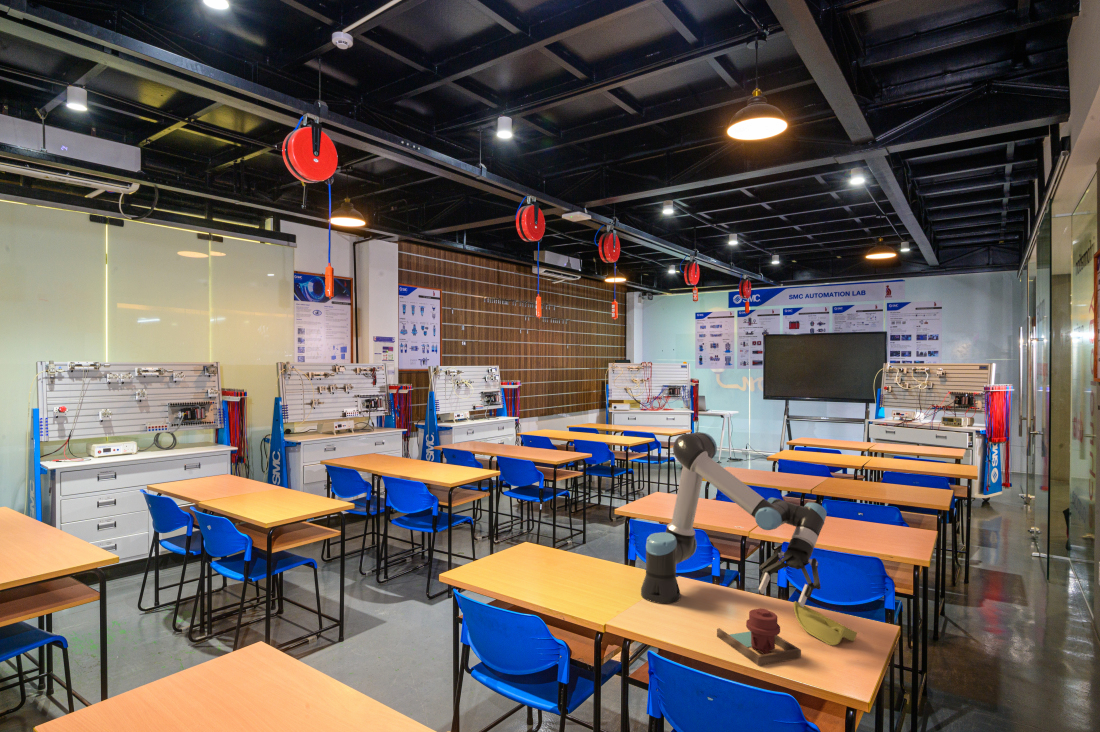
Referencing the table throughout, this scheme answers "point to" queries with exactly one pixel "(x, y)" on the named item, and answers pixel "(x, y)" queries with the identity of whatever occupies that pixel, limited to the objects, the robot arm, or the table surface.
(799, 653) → the bay
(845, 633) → the plastic component
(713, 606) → the table surface
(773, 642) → the mechanical component
